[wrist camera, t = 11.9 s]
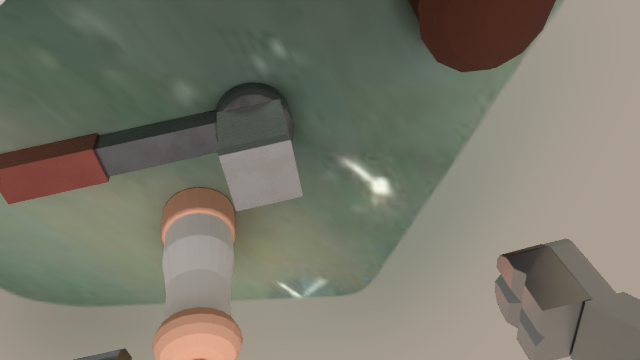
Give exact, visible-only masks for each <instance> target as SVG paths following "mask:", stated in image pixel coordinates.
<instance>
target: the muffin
mask: <svg viewBox="0 0 640 360" xmlns="http://www.w3.org/2000/svg"><path fill="white" fill-rule="evenodd" d="M555 1H556V0H409V2H410V4H411V6H412V8H413V10H414V12H415V14H416V16H417V18H418V21H419V23H420V31H421V39H422V40H423V42H424V43H425V45H426V46H427V48H428V49H429V51H430V52H431V53H432V55H433V56H434V58H435V59H436V61H437V62H439V63H441V64H444V65H446V66H448V67H451V68H453V69H456V70H458V71H460V72H468V71H478V70H487V69H492V68H496V67H498V66H500V65H502V64H503V63H505V62H507V61H509V60H510V59H512V58H514V57H516V56H517V55H519V54H521V53H522V52H523V51H524V50H525V49H526V48H527V47H528V46H529V44H530V43H531V42H532V41H533V40H534V39H535V38H536V37H537V35H538V34H539V33H540V32H541V31H542V30H543V28H544V25H545V23H546V21H547V19H548V16H549V14H550V12H551V10H552V8H553V5H554V3H555Z"/></svg>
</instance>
